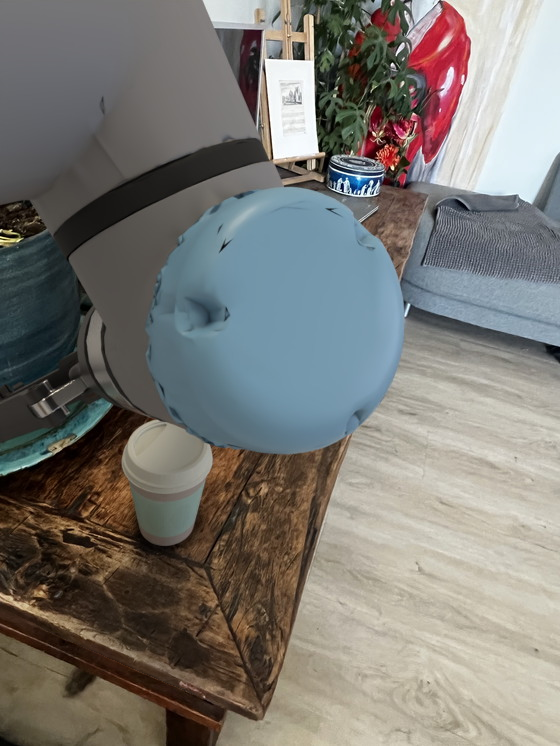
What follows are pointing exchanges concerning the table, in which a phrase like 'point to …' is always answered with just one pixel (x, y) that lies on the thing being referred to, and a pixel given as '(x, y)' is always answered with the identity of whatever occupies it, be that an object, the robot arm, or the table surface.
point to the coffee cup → (166, 479)
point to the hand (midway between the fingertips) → (96, 355)
